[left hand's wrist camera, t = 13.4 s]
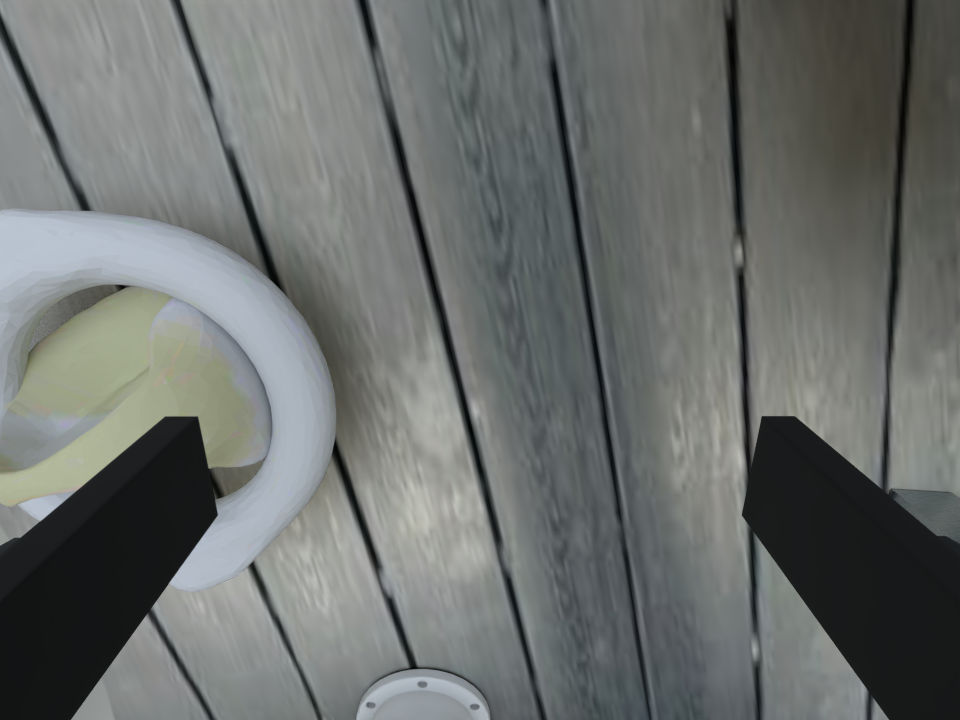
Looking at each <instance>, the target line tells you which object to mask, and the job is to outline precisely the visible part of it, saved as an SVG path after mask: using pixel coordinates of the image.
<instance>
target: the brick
mask: <svg viewBox="0 0 960 720" xmlns="http://www.w3.org/2000/svg"><path fill="white" fill-rule="evenodd" d="M889 496H890V497H891V498H893V499H894V500H895V501H896V502H897V503H898V504H900V505H901V506H902V507H903V508H904V509H906V510H907V511H908V512H909V513H910V514H912V515H913V516H914V517H915V518H916V519H918V520H919V521H920V522H921V523H922V524H923V525H925V526H926V527H927V528H928V529H929V530H931V531H932V532H933V533H934V534H935V535H937V536H947V537H949V538H951V539H952V540H954V541H956V542H958V543H960V498H958V497H957V496H955V495H954V494H953V493H948V492H932V491H916V490H899V489H891V491H890V494H889Z"/></svg>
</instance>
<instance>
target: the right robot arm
mask: <svg viewBox="0 0 960 720" xmlns="http://www.w3.org/2000/svg"><path fill="white" fill-rule="evenodd" d="M356 720H490V710H489V707H488V704H487V702H486V700H485V698H484V697H483V696H482V694H481V693H480V692H479V691H478V690H477V689H476V688H475V687H474V686H473V685H472V684H470V683H469V682H467V681H465V680H464V679H462V678H460V677H458V676H455V675H453V674H450V673H447V672H443V671H439V670H431V669H412V670H406V671H400V672H397V673H394V674H391V675H388V676H387V677H385V678H383V679H381V680H379V681H377V682H376V683H375V684H374V685H372V686H371V687H370V688H369V689H368V690H367V692H366V693H365V694H364V695H363V697H362V699H361V701H360V703H359V708H358V712H357V717H356Z"/></svg>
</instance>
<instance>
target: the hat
mask: <svg viewBox="0 0 960 720" xmlns="http://www.w3.org/2000/svg"><path fill="white" fill-rule="evenodd" d="M114 284H116V285H130V286H131V287H128V288H124V289H122V290H120V291H118V292H116V293H114V294H112V295H110V296H108V297H106V298H104V299H102V300H101V301H99V302H98V303H96V304H95V305H93V306H92V307H90V308H88V309H86V310H84V311H83V312H81V313H79V314H77V315H76V316H74V317H73V318H71V319H70V320H69V321H67V322H66V323H64V324H63V325H62V326H60V327H59V328H57V329H56V330H55V331H53V332H52V333H51V334H49V335H48V336H47V337H45V338H44V339H42V340H41V341H39V342H38V343H37V344H36V345H35V346H34V347H33V349H32V350H31V351H30V352H29V346H30V343H31V340H32V337H33V334H34V331H35V329H36V327H37V325H38V323H39V322H40V320H41V319H42V318H43V316H44V315H45V314H46V313H47V312H48V310H49V309H50V308H51V307H52V306H53V305H55V304H56V303H57V302H59V301H60V300H61V299H63V298H65V297H66V296H68V295H70V294H72V293H75V292H77V291H80V290H82V289H86V288H90V287H95V286H99V285H114ZM165 416H198V418H199V423H200V428H201V433H202V438H203V443H204V448H205V453H206V458H207V463H208V468H209V469H210V468H214V467H226V468H228V467H242V466H247V465H251V464H254V463H257V462H259V461H261V460H263V459H264V458H265V460H264V462H263V464H262V466H261V468H260V469H259V471H258V472H257V474H256V475H255V476H254V477H253V478H252V479H251V480H250V481H249V482H248V483H247V484H245V485H244V486H243V487H241V488H240V489H239V490H237V491H235V492H233V493H231V494H230V495H228V496H225V497H222V498H220V499H217V500H215V502H216V507H217V512H218V516H217V517H216V519H215V520H214V522H213V523H212V524H211V526H210V527H209V529H208V530H207V531H206V533H205V534H204V536H203V537H202V538H201V540H200V541H199V542H198V544H197V545H196V547H195V548H194V549H193V551H192V552H191V554H190V555H189V556H188V558H187V559H186V561H185V562H184V563H183V565H182V566H181V567H180V569H179V570H178V572H177V573H176V574H175V576H174V577H173V579H172V580H171V581H170V583H169V584H170V585H171V586H173V587H175V588H176V589H180V590H183V591H187V592H199V591H202V590H206V589H209V588H211V587H213V586H216V585H218V584H220V583H222V582H225V581H227V580H229V579H231V578H233V577H235V576H237V575H238V574H240V573H241V572H242V571H243V570H245V569H246V568H247V567H248V566H249V565H250V564H251V563H252V561H253V560H254V559H255V558H256V557H258V556H259V555H260V554H261V553H262V552H263V551H264V550H265V549H266V548H267V547H268V546H269V545H270V544H271V543H272V542H273V541H274V540H275V539H276V537H277V536H278V535H279V534H280V533H281V532H282V531H283V530H284V529H285V528H286V527H287V526H288V525H289V524H290V523H291V522H292V521H293V520H294V519H295V517H296V516H297V515H298V514H299V513H300V512H301V510H302V509H303V508H304V507H305V506H306V505H307V503H308V502H309V501H310V499H311V498H312V496H313V495H314V493H315V492H316V490H317V489H318V487H319V485H320V483H321V481H322V480H323V478H324V475H325V473H326V470H327V468H328V465H329V462H330V459H331V455H332V451H333V446H334V441H335V435H336V420H337V414H336V403H335V392H334V388H333V383H332V379H331V376H330V372H329V369H328V366H327V362H326V360H325V357H324V355H323V353H322V351H321V348H320V346H319V344H318V342H317V340H316V338H315V336H314V334H313V333H312V331H311V329H310V327H309V326H308V324H307V322H306V321H305V319H304V318H303V316H302V315H301V314H300V313H299V311H298V310H297V309H296V308H295V306H294V305H293V304H292V303H291V301H290V300H289V299H288V298H287V297H286V295H285V294H284V293H283V292H282V291H281V290H280V289H279V288H278V287H277V286H276V285H275V284H274V283H273V282H272V281H271V280H270V279H269V278H267V277H266V276H265V275H264V274H263V273H262V272H261V271H260V270H258V269H257V268H256V267H255V266H253V265H252V264H251V263H249V262H248V261H246V260H245V259H244V258H242V257H241V256H239V255H238V254H237V253H235V252H233V251H232V250H230V249H228V248H226V247H224V246H223V245H221V244H219V243H217V242H216V241H214V240H211V239H209V238H207V237H204V236H202V235H200V234H197V233H195V232H193V231H190V230H188V229H185V228H182V227H179V226H175V225H172V224H168V223H165V222H162V221H158V220H153V219H147V218H141V217H136V216H127V215H119V214H110V213H102V212H93V211H68V210H59V211H36V210H28V209H20V208H15V209H7V210H1V211H0V503H1V504H3V505H6V506H9V507H13V506H15V505H19V506H20V507H21V508H23V509H24V510H25V511H26V512H28V513H29V514H30V515H31V516H33V517H34V518H36V519H37V520H38V521H41V520H42V519H44V518H45V517H46V516H47V515H48V514H50V513H51V512H52V511H53V510H54V509H56V508H57V507H58V506H59V505H60V504H62V503H63V502H64V501H65V500H66V499H67V498H69V497H70V496H71V495H72V494H73V493H75V492H76V491H77V490H78V489H79V488H81V487H82V486H83V485H84V484H85V483H86V482H88V481H89V480H90V479H91V478H92V477H94V476H95V475H96V474H97V473H98V472H100V471H101V470H102V469H103V468H104V467H106V466H107V465H108V464H109V463H110V462H111V461H113V460H114V459H115V458H116V457H117V456H119V455H120V454H121V453H122V452H123V451H125V450H126V449H127V448H128V447H129V446H131V445H132V444H133V443H134V442H135V441H136V440H138V439H139V438H140V437H141V436H142V435H144V434H145V433H146V432H147V431H148V430H150V429H151V428H152V427H153V426H154V425H155V424H157V423H158V422H159V421H160V420H161V419H163V418H164V417H165Z"/></svg>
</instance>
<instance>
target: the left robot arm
mask: <svg viewBox="0 0 960 720" xmlns="http://www.w3.org/2000/svg"><path fill="white" fill-rule="evenodd" d="M217 516H218V512H217V507H216V502H215V497H214V492H213V487H212V482H211V477H210V473H209V468H208V463H207V458H206V453H205V448H204V443H203V438H202V433H201V428H200V423H199V418H198V416H165V417H164V418H163V419H161V420H160V421H159V422H158V423H157V424H155V425H154V426H153V427H152V428H151V429H150V430H148V431H147V432H146V433H145V434H144V435H142V436H141V437H140V438H139V439H138V440H136V441H135V442H134V443H133V444H132V445H131V446H129V447H128V448H127V449H126V450H125V451H123V452H122V453H121V454H120V455H119V456H117V457H116V458H115V459H114V460H113V461H111V462H110V463H109V464H108V465H107V466H106V467H104V468H103V469H102V470H101V471H100V472H98V473H97V474H96V475H95V476H94V477H92V478H91V479H90V480H89V481H88V482H86V483H85V484H84V485H83V486H82V487H81V488H79V489H78V490H77V491H76V492H75V493H73V494H72V495H71V496H70V497H69V498H67V499H66V500H65V501H64V502H63V503H62V504H60V505H59V506H58V507H57V508H56V509H54V510H53V511H52V512H51V513H50V514H48V515H47V516H46V517H45V518H44V519H42V520H41V521H40V522H39V523H38V524H37V525H35V526H34V527H33V528H32V529H31V530H29V531H28V532H27V533H26V534H25V535H23V536H22V537H21V538H13V539H12V540H10V541H8V542H6V543H4V544H3V545H1V546H0V720H71V719H72V717H73V716H74V715H75V713H76V712H77V710H78V709H79V708H80V706H81V705H82V703H83V702H84V701H85V699H86V698H87V696H88V695H89V694H90V692H91V691H92V690H93V688H94V687H95V685H96V684H97V683H98V681H99V680H100V678H101V677H102V676H103V674H104V673H105V672H106V670H107V669H108V667H109V666H110V665H111V663H112V662H113V660H114V659H115V658H116V656H117V655H118V654H119V652H120V651H121V649H122V648H123V647H124V645H125V644H126V642H127V641H128V640H129V638H130V637H131V635H132V634H133V633H134V631H135V630H136V629H137V627H138V626H139V624H140V623H141V622H142V620H143V619H144V617H145V616H146V615H147V613H148V612H149V610H150V609H151V608H152V606H153V605H154V604H155V602H156V601H157V599H158V598H159V597H160V595H161V594H162V592H163V591H164V590H165V588H166V587H167V585H168V584H169V583H170V581H171V580H172V579H173V577H174V576H175V574H176V573H177V572H178V570H179V569H180V567H181V566H182V565H183V563H184V562H185V561H186V559H187V558H188V556H189V555H190V554H191V552H192V551H193V549H194V548H195V547H196V545H197V544H198V542H199V541H200V540H201V538H202V537H203V536H204V534H205V533H206V531H207V530H208V529H209V527H210V526H211V524H212V523H213V522H214V520H215V519H216V517H217ZM742 516H743V517H744V519H745V520H746V522H747V523H748V524H749V526H750V527H751V529H752V530H753V531H754V533H755V534H756V536H757V537H758V538H759V540H760V541H761V542H762V544H763V545H764V547H765V548H766V549H767V551H768V552H769V554H770V555H771V556H772V558H773V559H774V561H775V562H776V563H777V565H778V566H779V567H780V569H781V570H782V572H783V573H784V574H785V576H786V577H787V579H788V580H789V581H790V583H791V584H792V585H793V587H794V588H795V590H796V591H797V592H798V594H799V595H800V597H801V598H802V599H803V601H804V602H805V604H806V605H807V606H808V608H809V609H810V610H811V612H812V613H813V615H814V616H815V617H816V619H817V620H818V622H819V623H820V624H821V626H822V627H823V629H824V630H825V631H826V633H827V634H828V635H829V637H830V638H831V640H832V641H833V642H834V644H835V645H836V647H837V648H838V649H839V651H840V652H841V654H842V655H843V656H844V658H845V659H846V660H847V662H848V663H849V665H850V666H851V667H852V669H853V670H854V672H855V673H856V674H857V676H858V677H859V678H860V680H861V681H862V683H863V684H864V685H865V687H866V688H867V690H868V691H869V692H870V694H871V695H872V697H873V698H874V699H875V701H876V702H877V703H878V705H879V706H880V708H881V709H882V710H883V712H884V713H885V715H886V716H887V717H888V719H889V720H960V543H958V542H956V541H954V540H952V539H951V538H949V537H947V536H937V535H935V534H934V533H933V532H932V531H931V530H929V529H928V528H927V527H926V526H925V525H923V524H922V523H921V522H920V521H919V520H918V519H916V518H915V517H914V516H913V515H912V514H910V513H909V512H908V511H907V510H906V509H904V508H903V507H902V506H901V505H900V504H898V503H897V502H896V501H895V500H894V499H893V498H891V497H890V496H889V495H888V494H887V493H885V492H884V491H883V490H882V489H881V488H879V487H878V486H877V485H876V484H875V483H874V482H872V481H871V480H870V479H869V478H868V477H866V476H865V475H864V474H863V473H862V472H860V471H859V470H858V469H857V468H856V467H854V466H853V465H852V464H851V463H850V462H849V461H847V460H846V459H845V458H844V457H843V456H841V455H840V454H839V453H838V452H837V451H835V450H834V449H833V448H832V447H831V446H829V445H828V444H827V443H826V442H825V441H824V440H822V439H821V438H820V437H819V436H818V435H816V434H815V433H814V432H813V431H812V430H810V429H809V428H808V427H807V426H806V425H805V424H803V423H802V422H801V421H800V420H799V419H797V418H796V417H795V416H762V418H761V423H760V428H759V433H758V438H757V443H756V448H755V453H754V458H753V463H752V468H751V472H750V477H749V482H748V487H747V492H746V497H745V502H744V507H743V512H742Z"/></svg>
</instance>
